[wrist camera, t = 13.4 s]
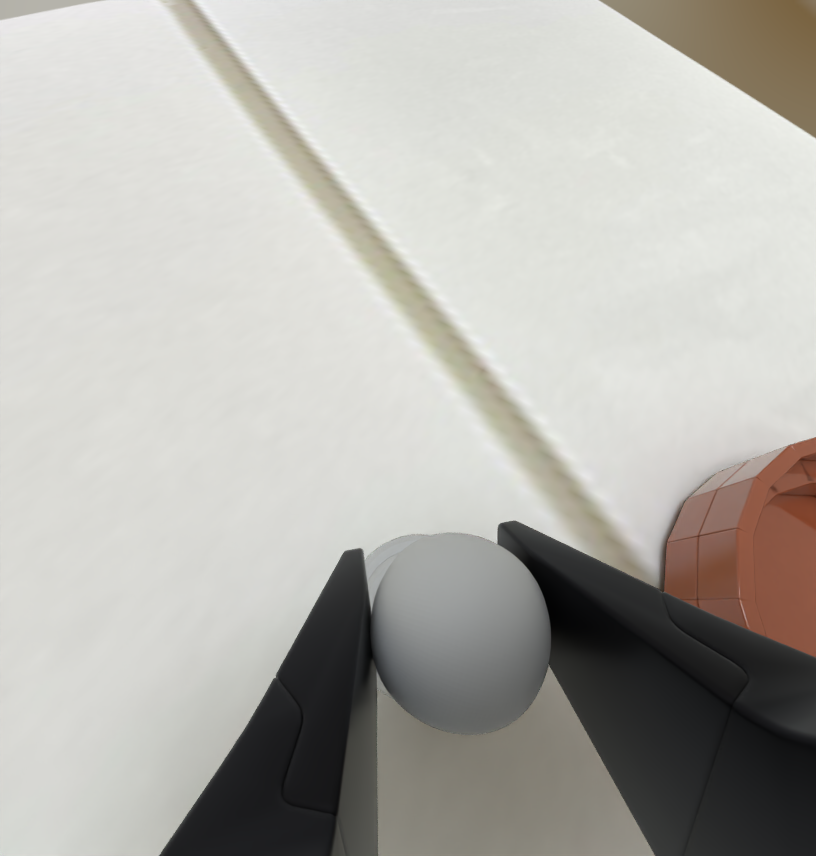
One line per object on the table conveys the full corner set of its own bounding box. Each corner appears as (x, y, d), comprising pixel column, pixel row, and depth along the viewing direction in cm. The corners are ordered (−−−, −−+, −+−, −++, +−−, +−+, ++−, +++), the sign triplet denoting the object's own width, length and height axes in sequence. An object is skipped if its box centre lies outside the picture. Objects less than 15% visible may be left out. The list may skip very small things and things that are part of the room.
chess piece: (477, 722, 13) (658, 927, 4) (323, 674, 13) (231, 785, 5) (502, 558, 15) (652, 499, 7) (371, 520, 15) (365, 419, 7)
